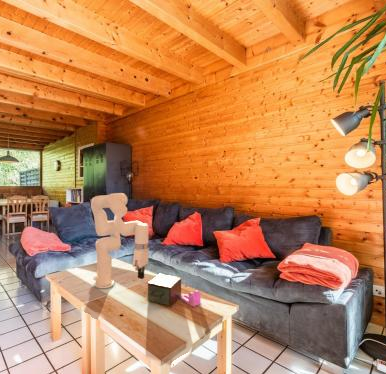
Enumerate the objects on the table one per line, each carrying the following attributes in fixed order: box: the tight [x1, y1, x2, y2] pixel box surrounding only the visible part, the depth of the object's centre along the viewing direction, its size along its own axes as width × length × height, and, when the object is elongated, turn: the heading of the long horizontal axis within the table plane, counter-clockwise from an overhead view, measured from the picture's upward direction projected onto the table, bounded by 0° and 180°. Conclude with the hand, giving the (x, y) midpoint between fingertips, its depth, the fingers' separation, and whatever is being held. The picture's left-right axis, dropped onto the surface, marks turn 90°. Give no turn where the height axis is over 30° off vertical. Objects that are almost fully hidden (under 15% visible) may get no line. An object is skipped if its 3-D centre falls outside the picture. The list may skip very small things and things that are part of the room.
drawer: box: [147, 284, 170, 306], centre depth 149 cm, size 19×13×9 cm
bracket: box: [179, 290, 201, 307], centre depth 149 cm, size 13×6×7 cm, turn 35°
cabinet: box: [147, 273, 182, 307], centre depth 152 cm, size 16×15×11 cm
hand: (140, 277), depth 143 cm, fingers closed
